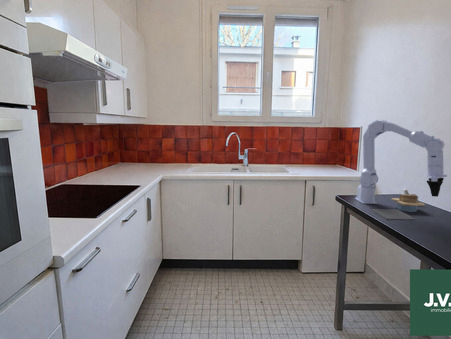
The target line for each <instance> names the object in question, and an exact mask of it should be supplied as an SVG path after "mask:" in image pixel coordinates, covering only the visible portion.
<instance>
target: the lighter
mask: <svg viewBox="0 0 451 339" xmlns="http://www.w3.org/2000/svg"><path fill="white" fill-rule="evenodd" d="M402 190H403V191H402V192H404V193H403V194H409V191H408V189H407V188H403V189H402ZM413 194H414V195H417V193H413ZM417 201H418V202H419V196H418V195H417Z"/></svg>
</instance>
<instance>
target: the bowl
mask: <svg viewBox="0 0 451 339" xmlns="http://www.w3.org/2000/svg"><path fill="white" fill-rule="evenodd" d="M396 209H398V210H400V211H402V212H406V213H416V212H418V206H404V205H402V204H399V203H397V202H396Z"/></svg>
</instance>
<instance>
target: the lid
mask: <svg viewBox="0 0 451 339" xmlns="http://www.w3.org/2000/svg"><path fill="white" fill-rule="evenodd" d="M414 194H415V193H410V194H405V193H400V194H399V197H397V198H396V197H392V198H391V200H392V201H393V202H396V204H397V203H399V204H402V205H404V206H417V207H425V206H426V204H425V203H423V202H421V201H419V200H418V201H417V196H418V195H417V194H416V195H414Z"/></svg>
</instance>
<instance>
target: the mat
mask: <svg viewBox="0 0 451 339" xmlns="http://www.w3.org/2000/svg"><path fill="white" fill-rule="evenodd" d="M370 211H372V212H374V213H375V214H377V215H378V216H380V217H382V218H383V219H385V220H392V221H393V220H394V221H395V220H398V221H400V220H401V221H402V220H405V221H407V220H408V221H409V220H411V221H416V220H417V219H416V218H415V217H412V216H410V215H409V214H407V213H405V212H404V211H402V210H399V209H397V208H396V209H395V208H394V209H393V208H392V209H391V208H390V209H388V208H385V209H384V208H383V209H382V208H377V209H376V208H371V210H370Z"/></svg>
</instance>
